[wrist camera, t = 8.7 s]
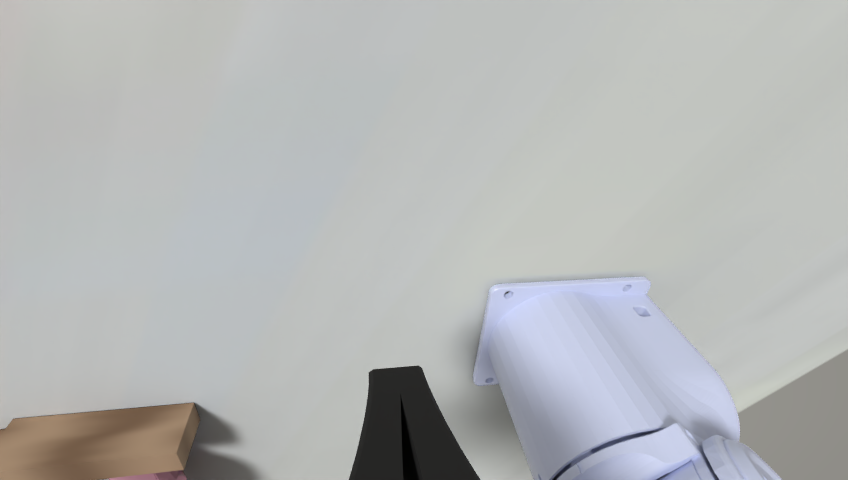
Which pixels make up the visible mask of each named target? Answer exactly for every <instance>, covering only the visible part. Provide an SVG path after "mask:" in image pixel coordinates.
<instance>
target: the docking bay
mask: <svg viewBox="0 0 848 480" xmlns="http://www.w3.org/2000/svg"><path fill="white" fill-rule="evenodd" d="M199 422H200V417H199V415H198V412H197V409H196V407H195V404H194V403H186V404H175V405H164V406H153V407H141V408H130V409H119V410H108V411H97V412H85V413H74V414H63V415H52V416H40V417H29V418H18V419H13V420H12V421H11V422H10V424H9V425H8V426H7V428H6V429H1V430H0V480H99V479H108V478H116V477H125V476H134V475H143V474H152V473H161V472H170V471H178V470H184V469H185V465H186V462H187V459H188V456H189V453H190V450H191V447H192V444H193V441H194V438H195V435H196V432H197V429H198V425H199Z"/></svg>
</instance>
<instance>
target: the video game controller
mask: <svg viewBox="0 0 848 480" xmlns="http://www.w3.org/2000/svg"><path fill="white" fill-rule="evenodd" d="M108 479H109V480H187V479H186V476H185V474H184V472H183V471H182V470H178V471H170V472H161V473H152V474H143V475H134V476H125V477H116V478H108Z"/></svg>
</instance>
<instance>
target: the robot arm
mask: <svg viewBox="0 0 848 480" xmlns="http://www.w3.org/2000/svg"><path fill="white" fill-rule="evenodd" d="M650 286H651V282H650V281H649V280H648V279H647V278H646V277H624V278H605V279H586V280H566V281H547V282H528V283H508V284H497V285H494V286H492V287H491V288H490V290H489V294H488V299H487V304H486V309H485V315H484V320H483V325H482V331H481V336H480V341H479V346H478V352H477V357H476V362H475V368H474V373H473V381H474V384H475V385H478V386H484V385H494V384H499V385H500V388H501V391H502V394H503V396H504V399H505V402H506V404H507V407H508V410H509V413H510V415H511V418H512V421H513V424H514V426H515V429H516V432H517V435H518V437H519V440H520V443H521V446H522V448H523V451H524V454H525V457H526V459H527V462H528V465H529V468H530V470H531V473H532V476H533V479H534V480H782V479H781V478H780V477H779V475H778V474H776V472H775V471H774V470H773V469H771V467H770V466H769V465H768V464H767V463H766V462H765V461H764V460H763V459H761V458H760V457H759V456H758V455H757V454H756V453H755V452H754V451H753V450H751V449H750V448H749V447H748V446H746V445H745V444H743V443H740V442H739V437H740V424H739V418H738V414H737V410H736V407H735V404H734V402H733V399H732V397H731V394H730V392H729V390H728V388H727V387H726V385H725V383H724V381H723V380H722V378H721V377H720V375H719V374H718V373H717V372H716V370H715V369H714V368H713V367H712V366H711V365H710V363H709V362H708V361H707V360H706V359H705V358H704V357H703V356H702V355H701V354H700V353H699V351H698V350H697V349H696V348H695V347H694V346H693V345H692V344H691V343H690V342H689V341H688V339H687V338H686V337H685V336H684V335H683V334H682V333H681V332H680V331H679V330H678V328H677V327H676V326H675V325H674V324H673V323H672V322H671V321H670V320H669V319H668V318H667V316H666V315H665V314H664V313H663V312H662V311H661V310H660V309H659V308H658V307H657V306H656V304H655V303H654V302H653V301H652V300H651V299H650V298H649V297H648V296H647V293H648V290H649V288H650ZM508 291H510V292H509V293H507V294H505V293H506V292H508ZM349 480H480V478H479V477H478V475H477V474H476V472H475V471H474V469H473V467H472V466H471V464H470V463H469V461H468V459H467V458H466V456H465V455H464V453H463V451H462V449H461V448H460V446H459V444H458V443H457V441H456V439H455V437H454V435H453V434H452V432H451V430H450V428H449V426H448V425H447V423H446V421H445V419H444V417H443V415H442V413H441V411H440V409H439V407H438V405H437V403H436V401H435V399H434V397H433V395H432V392H431V390H430V388H429V385H428V383H427V381H426V378H425V375H424V373H423V370H422V368H421V367H419V366H409V367H397V368H385V369H373V370H372V371H370V372H369V389H368V399H367V406H366V412H365V418H364V423H363V427H362V432H361V436H360V441H359V445H358V449H357V453H356V457H355V461H354V464H353V468H352V471H351V474H350V478H349Z"/></svg>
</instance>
